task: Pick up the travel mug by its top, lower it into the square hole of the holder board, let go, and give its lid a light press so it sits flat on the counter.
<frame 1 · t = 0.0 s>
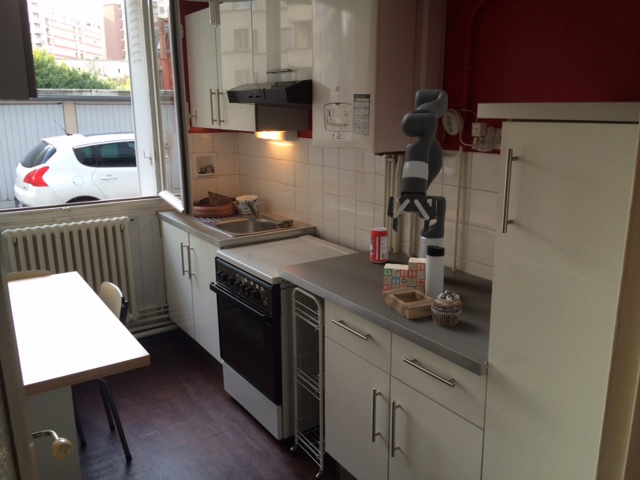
hand: (410, 232, 162), 31 cm above the counter, tool tilted 20°, fingers open, 8 cm apart
travel mug: (433, 299, 197), on the counter
holder board: (410, 307, 189), on the counter
cupcake: (445, 322, 177), on the counter
stack of blocks: (412, 291, 207), on the counter
soda can: (379, 262, 245), on the counter
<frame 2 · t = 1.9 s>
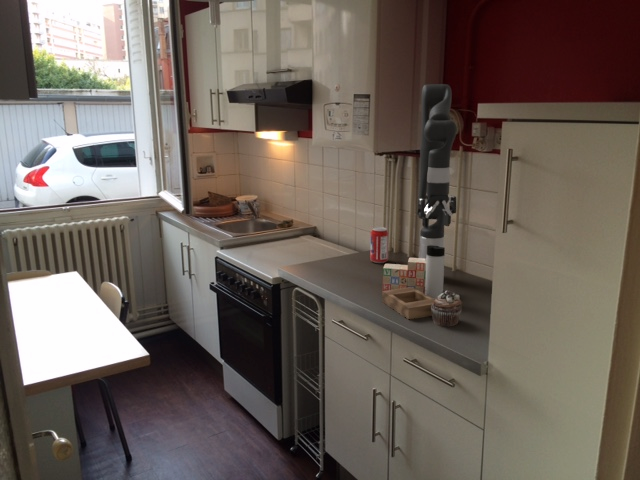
hand: (436, 227, 191), 27 cm above the counter, tool pointing down, fingers open, 8 cm apart
nothing on the counter moved.
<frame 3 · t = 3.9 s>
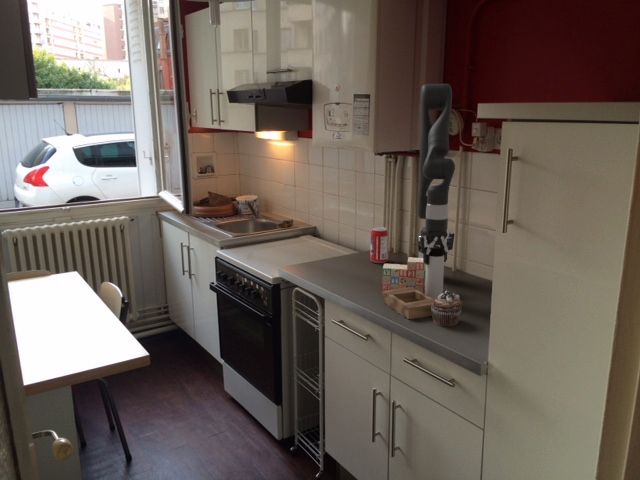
hand: (434, 262, 194), 14 cm above the counter, tool pointing down, fingers closed on travel mug, 6 cm apart
travel mug: (433, 299, 197), on the counter, touching gripper
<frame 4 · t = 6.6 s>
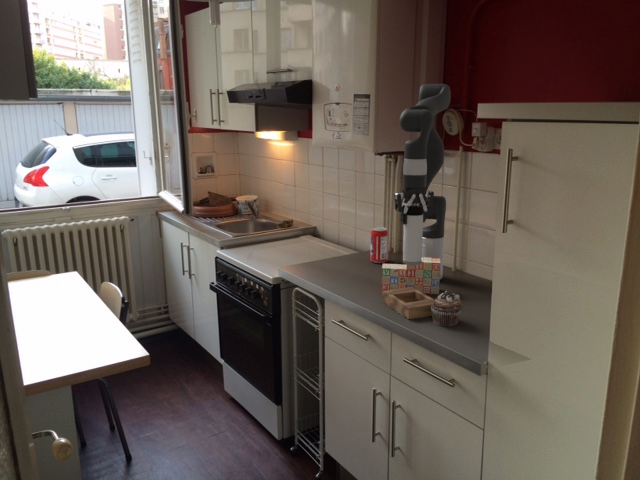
hand: (413, 223, 182), 30 cm above the counter, tool pointing down, fingers closed on travel mug, 6 cm apart
travel mug: (411, 263, 185), point 16 cm above the counter, touching gripper
when the fingers open (15 cm above the counter, at t = 9.5 s): travel mug stays where it is, resting in holder board.
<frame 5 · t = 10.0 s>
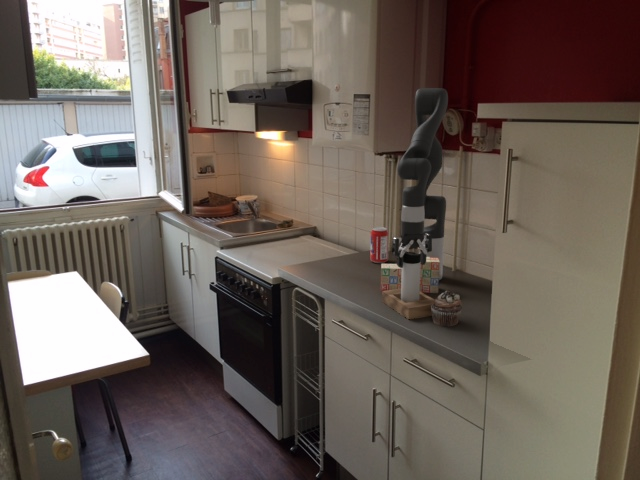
hand: (411, 265, 186), 15 cm above the counter, tool pointing down, fingers open, 8 cm apart
travel mug: (409, 308, 189), resting in holder board
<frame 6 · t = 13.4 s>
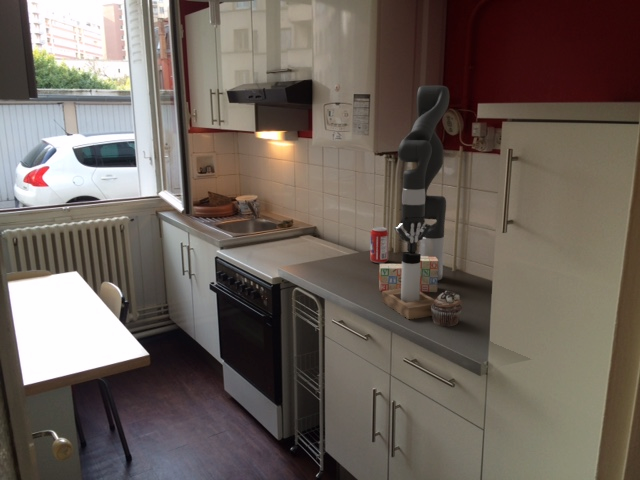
hand: (411, 252, 185), 20 cm above the counter, tool pointing down, fingers closed
travel mug: (409, 308, 189), resting in holder board, touching gripper
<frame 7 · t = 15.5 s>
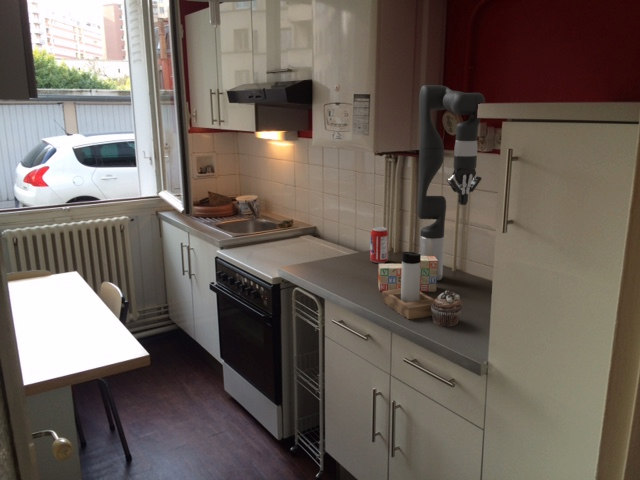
hand: (462, 204, 190), 34 cm above the counter, tool pointing down, fingers closed
travel mug: (409, 308, 189), resting in holder board
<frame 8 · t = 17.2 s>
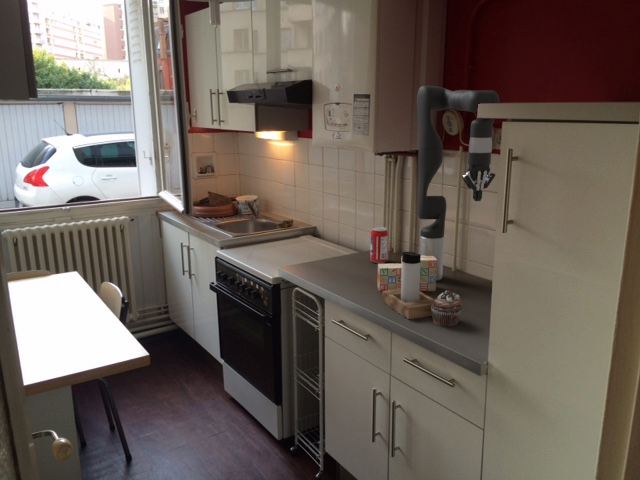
hand: (477, 200, 192), 35 cm above the counter, tool pointing down, fingers closed
at the end: travel mug 0.2 cm off-centre on the holder board, point 0.0 cm above the holder board's base; travel mug tilted 0°; the gripper is holding nothing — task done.
